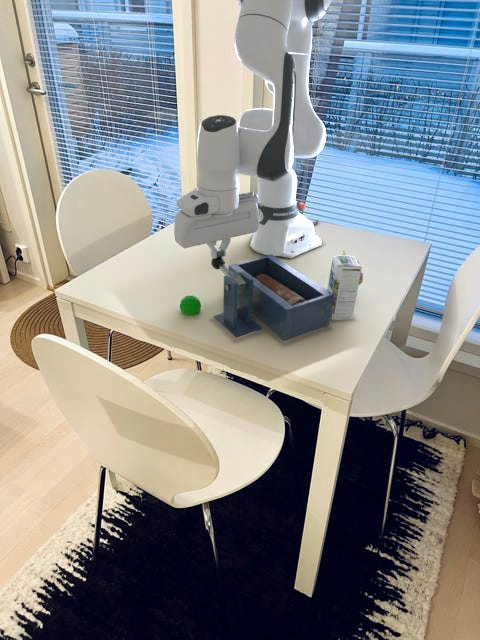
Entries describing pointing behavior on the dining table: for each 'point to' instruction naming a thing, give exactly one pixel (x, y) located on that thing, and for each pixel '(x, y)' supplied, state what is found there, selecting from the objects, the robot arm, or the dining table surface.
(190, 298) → the polyhedron
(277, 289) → the bread
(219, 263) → the toaster lever
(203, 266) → the dining table surface
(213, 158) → the robot arm
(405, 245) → the dining table surface
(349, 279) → the syrup box
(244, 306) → the lever bracket
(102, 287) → the dining table surface
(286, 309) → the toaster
